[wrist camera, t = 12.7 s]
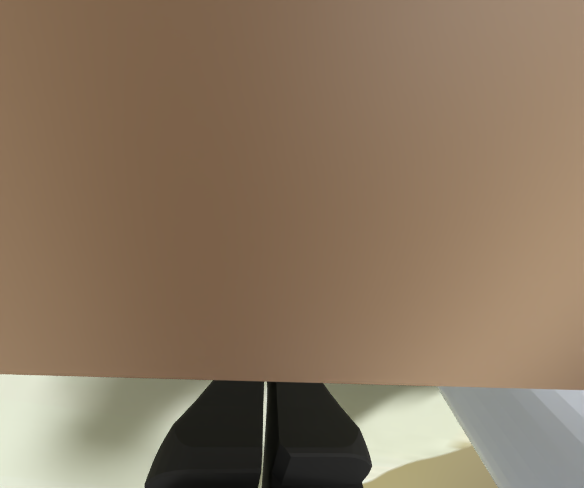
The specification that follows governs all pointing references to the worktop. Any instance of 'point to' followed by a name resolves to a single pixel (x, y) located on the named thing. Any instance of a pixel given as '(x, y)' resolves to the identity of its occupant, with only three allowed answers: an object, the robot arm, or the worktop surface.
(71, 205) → the walnut shelf
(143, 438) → the worktop surface
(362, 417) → the worktop surface
